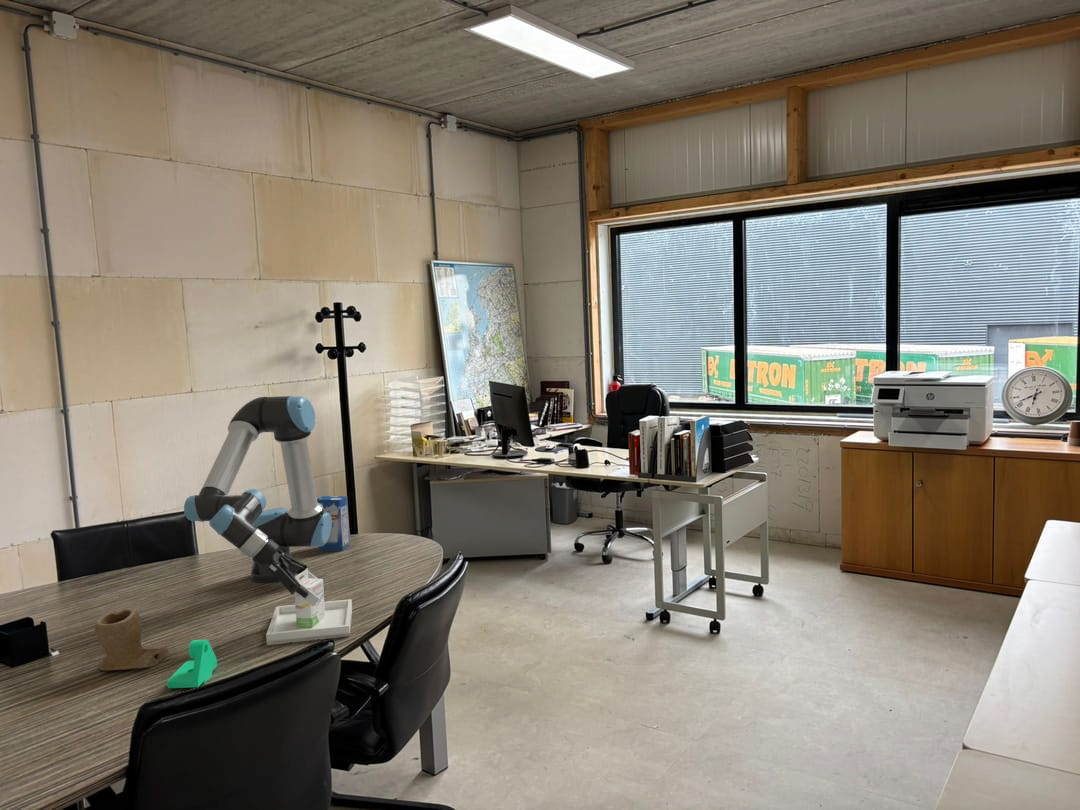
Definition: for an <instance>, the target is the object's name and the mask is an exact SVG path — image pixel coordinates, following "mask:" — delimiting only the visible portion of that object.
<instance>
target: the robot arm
mask: <svg viewBox="0 0 1080 810" xmlns="http://www.w3.org/2000/svg"><path fill="white" fill-rule="evenodd" d="M315 427H316V412H315V408H314V406H313V404H312V402H311V401H310V400H309V399H308V398H307V397H305V396H297V395H287V396H258V397H256V398H254V399H252V400H249V402H246V403H245V404H244V405H243V406H242V407H241V408H239V410H238V411H237V412H236V413H235V414H234V415H233V417H232V418H231V420H230V422H229V424H228V426H227V432H228V434H227V435H226V438H225V440H224V441H223V444H222V446H221V448H220V450H219V452H218V455H217V457H216V458H215V461H214V462H213V465H212V467H211V469H210V471H209V474H208V475H207V477H206V479H205V480H204V483H203V486H202V488H201V489H200V491H199V493H198V494H194V495H190V496H189V497H187V498H186V500H185V501H184V506H183V513H184V516H185V517H186V519H187V520H188V521H191V522H200V523H204V522H208V524H209V526H210V527H211V528H212V530H214V531H215V532H216V533H217V535H219V536H221V537H222V538H224V539H225V540H226V541H228V543H230V544H231V545H233V546H234V547H236V549H238V550H239V551H240V554H242V555H243V554H245V555H246V556H247V557H248V558H251V559H252V565H251V569H250V579H251V580H250V581H253V582H256V583H273V582H280V583H281V584H282V585H283V586H284V588H286V589H287V591H288V592H289V593H290V595H295V593H297V594H298V595H299V596H300V597H302V598H303V599H304V600H305V601H307V602H308V603H309V604H311V605H312V606H314V605H315V604H316V603H317V602H318V600H319V599H320V598H319V597H318V596H316V595H315V594H314V593H313V592H311V591H310V590H309V589H308V588H306V587H305V586H304V585H303V584H301V585H300V584H299V582H298V581H297V580H296V578H295V576H296V575H298V574H300V573H301V572H303V571H305V570H306V569H308V565H307V564H304V563H303V562H301V561H299V560H297V559H296V558H294V557H293V556H292V554H291V551H290V548H295V547H296V548H316V547H318V548H319V547H320V546H323V545H325V544H326V542H327V541H328V539H329V536H330V532H331V526H332V518H331V515H330V514H329V513H327V512H325V513H324V511H323V506H322V505H321V504H320V503H318V502H317V499H318V497H317V492H316V491H317V490H316V486H315V480H314V474H313V468H312V467H313V466H312V462H311V454H310V449H309V443H308V439H309V437H310V436H311V435H312V431H313V430H314V429H315ZM262 433H273V437H274V441H275V442H277V443H279V444H280V448H281V454H282V459H283V460H282V461H283V465H284V466H283V467H284V472H285V476H286V483H287V490H288V495H289V499H290V500H289V501H290V505H291V507H290V509H289V510H288V509H287V508H286V507H276V508H269V509H266V510H264V509H265V508H266V505H267V498H266V496H265V495H264V493H263V492H262V491H260V490H259V489H256V488H255V489H254V488H250V489H247V490H246V491H244V492H243V493H241V494H240V495H239V494H238V495H237V494H235V495H234V494H233V495H232V494H231V495H229V493H230V491H231V489H232V486H233V484H234V482H235V480H236V478H237V475H238V473H239V471H240V469H241V466H242V464H243V462H244V460H245V457H246V456H247V454H248V451H249V449H250V446H251V444H252V443H253V442H254V441H256V440H257V439H258V437H259V435H260V434H262ZM303 577H304V575H303V576H301V577H300V578H299V579H302V578H303ZM308 578H310V579H319V578H318V577H317V576H315V575H314V574H312V573H311V572H310V571H309V570H308Z"/></svg>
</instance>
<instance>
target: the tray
mask: <svg viewBox="0 0 1080 810" xmlns="http://www.w3.org/2000/svg"><path fill="white" fill-rule="evenodd" d="M352 601H353V599H351V598H348V599H340V600H339V599H338V600H330V601H329V600H328V601H324V606H325V618H324V619H322V620H321V621H320V622H318V623H317V624H316V625H315V626H313V627H312V628H310V627H309V628H306V627H297V622H296V605H295V604H288V605H278V606H275V608H274V612H273V615H272V618H271V620H270V623H269V626H268V628H267V631H266V634H265V637H266V645H267V646H270V645H271V646H272V645H280V644H289V643H290V642H292V643H298V642H299V643H300V642H310V640H311V641H317V640H318V639H319V641H320V640H326V639H327V640H328V639H339V638H348V637H350V635H351V627H352V626H351V625H352V617H353V615H352V614H353V602H352Z"/></svg>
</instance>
